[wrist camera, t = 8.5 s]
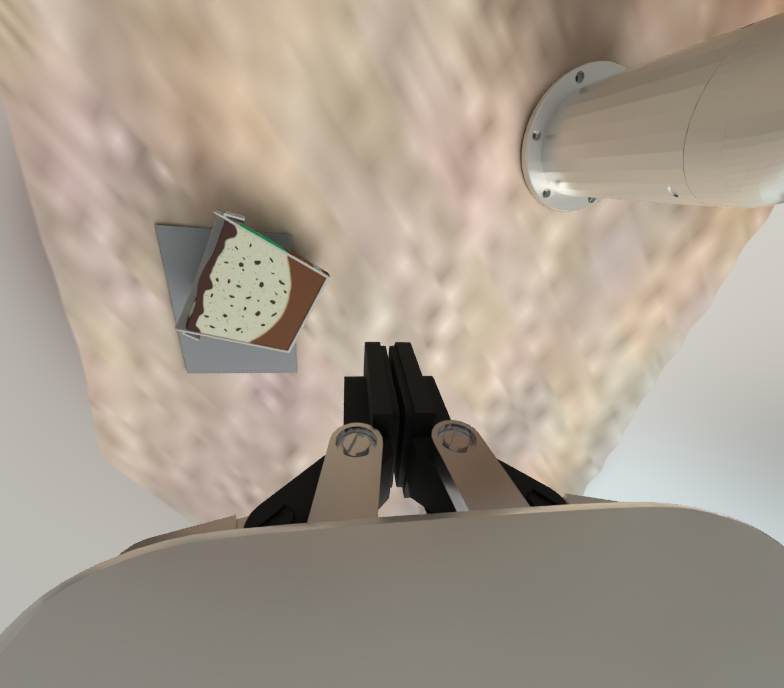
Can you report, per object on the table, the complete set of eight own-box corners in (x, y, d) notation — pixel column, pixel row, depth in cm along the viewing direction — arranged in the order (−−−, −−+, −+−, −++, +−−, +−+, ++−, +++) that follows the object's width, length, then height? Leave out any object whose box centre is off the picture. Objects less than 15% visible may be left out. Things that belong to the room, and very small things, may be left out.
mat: (291, 234, 32) (291, 235, 31) (297, 370, 39) (296, 372, 39) (156, 224, 29) (154, 225, 29) (188, 371, 37) (187, 373, 36)
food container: (329, 240, 33) (226, 187, 28) (337, 263, 28) (215, 205, 23) (283, 331, 38) (188, 300, 33) (283, 364, 33) (172, 334, 28)
